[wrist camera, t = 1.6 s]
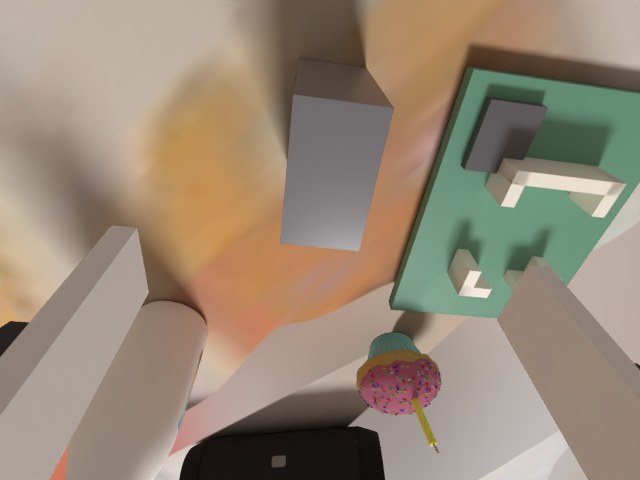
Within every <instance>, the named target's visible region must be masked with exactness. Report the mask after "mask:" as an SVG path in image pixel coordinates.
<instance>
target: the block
mask: <svg viewBox="0 0 640 480" xmlns="http://www.w3.org/2000/svg"><path fill="white" fill-rule="evenodd" d="M393 109H394V108H393V106H392V105H391V103H390V102H389V100H388V99H387V97H386V96H385V95H384V93H383V92H382V90H381V89H380V87H379V86H378V84H377V83H376V81H375V80H374V78H373V77H372V76H371V74H370V73H369V71H368V70H367V68H365V67H358V66H351V65H345V64H338V63H331V62H324V61H317V60H310V59H303V58H299V64H298V69H297V75H296V81H295V87H294V92H293V102H292V113H291V125H290V136H289V147H288V159H287V170H286V182H285V193H284V204H283V216H282V227H281V239H280V243H282V244H292V245H302V246H313V247H323V248H333V249H343V250H353V251H359V249H360V245H361V241H362V237H363V232H364V228H365V224H366V220H367V216H368V212H369V208H370V204H371V200H372V195H373V191H374V187H375V183H376V179H377V175H378V171H379V167H380V163H381V159H382V154H383V150H384V146H385V142H386V138H387V134H388V130H389V126H390V122H391V118H392V113H393Z"/></svg>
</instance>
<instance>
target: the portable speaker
mask: <svg viewBox="0 0 640 480" xmlns="http://www.w3.org/2000/svg"><path fill="white" fill-rule="evenodd" d="M381 454H382V453H381V447H380V441H379V436H378V433H377V432H375V431H372V430H369V429H366V428H362V427H359V426H356V427H344V428H331V429H319V430H306V431H294V432H281V433H269V434H256V435H243V436H231V437H218V438H210V439H208V440H206V441H204V442H202V443H200V444H198V445H196V446H194V447H192V448H191V449H190V450H189V452H188V453H187V455H186V457H185V459H184V462H183V465H182V469H181V473H180V479H179V480H385V475H384V469H383V460H382V455H381Z"/></svg>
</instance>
